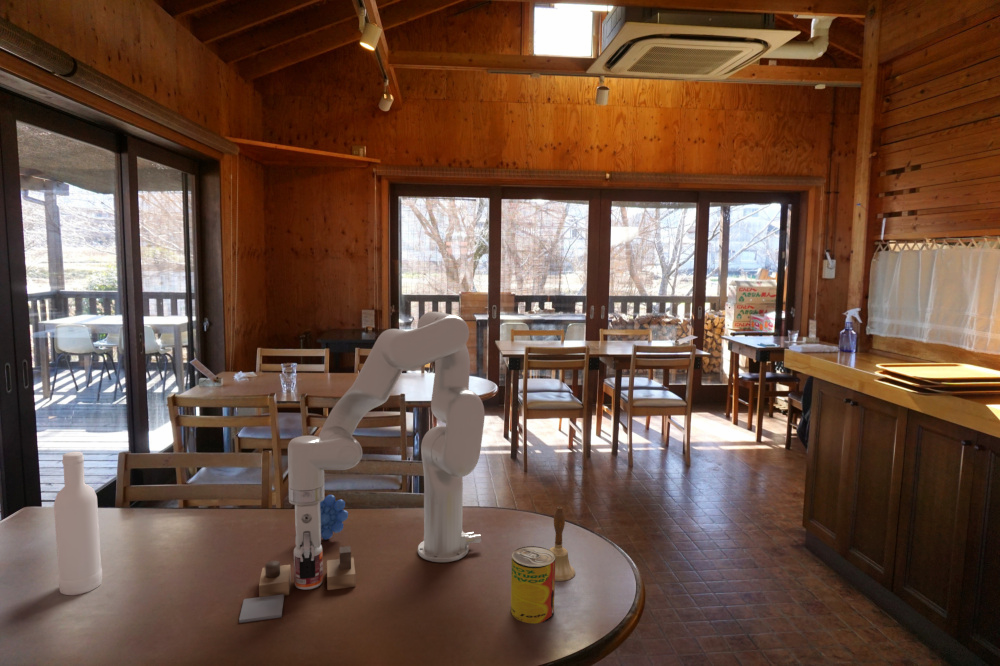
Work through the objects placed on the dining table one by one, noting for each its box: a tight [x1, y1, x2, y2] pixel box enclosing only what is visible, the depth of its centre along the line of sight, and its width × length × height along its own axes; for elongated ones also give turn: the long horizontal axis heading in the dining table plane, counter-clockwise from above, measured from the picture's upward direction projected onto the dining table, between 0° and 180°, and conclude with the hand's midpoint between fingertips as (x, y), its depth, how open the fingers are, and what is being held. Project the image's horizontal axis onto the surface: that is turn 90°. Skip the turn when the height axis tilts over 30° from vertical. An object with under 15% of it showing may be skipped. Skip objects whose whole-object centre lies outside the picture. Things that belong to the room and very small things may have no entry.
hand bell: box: [548, 506, 576, 582], centre depth 145 cm, size 8×8×16 cm
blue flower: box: [320, 494, 349, 541], centre depth 161 cm, size 12×7×12 cm, turn 94°
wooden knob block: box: [258, 545, 356, 597], centre depth 138 cm, size 20×8×7 cm, turn 106°
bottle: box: [53, 451, 103, 596], centre depth 134 cm, size 8×8×30 cm
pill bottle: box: [293, 536, 324, 590], centre depth 138 cm, size 6×6×11 cm
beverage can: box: [510, 545, 556, 624], centre depth 128 cm, size 9×9×12 cm
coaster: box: [238, 594, 285, 624], centre depth 128 cm, size 8×8×1 cm
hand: (308, 566), depth 138 cm, fingers open, 9 cm apart
